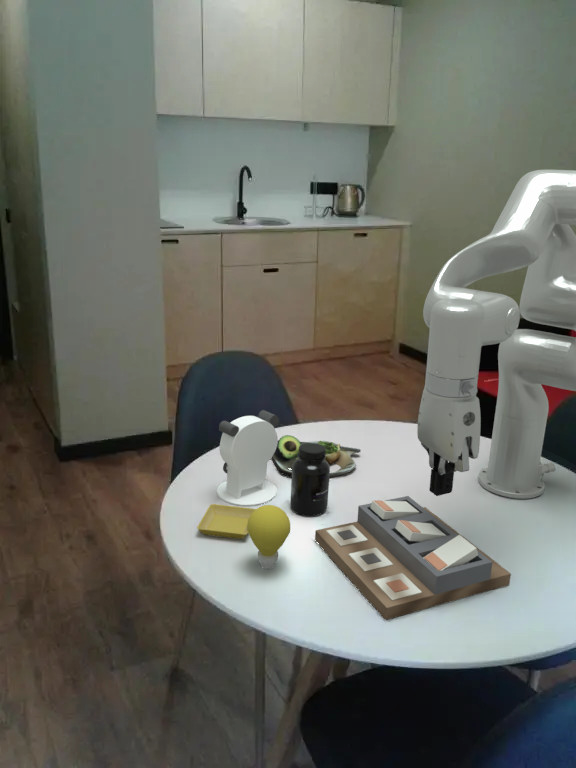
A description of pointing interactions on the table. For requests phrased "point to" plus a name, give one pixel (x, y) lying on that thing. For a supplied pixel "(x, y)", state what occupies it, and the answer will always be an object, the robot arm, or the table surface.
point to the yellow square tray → (225, 521)
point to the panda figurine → (248, 459)
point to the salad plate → (334, 454)
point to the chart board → (392, 572)
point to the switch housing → (423, 549)
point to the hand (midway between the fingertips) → (440, 491)
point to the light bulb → (268, 533)
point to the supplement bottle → (310, 480)
